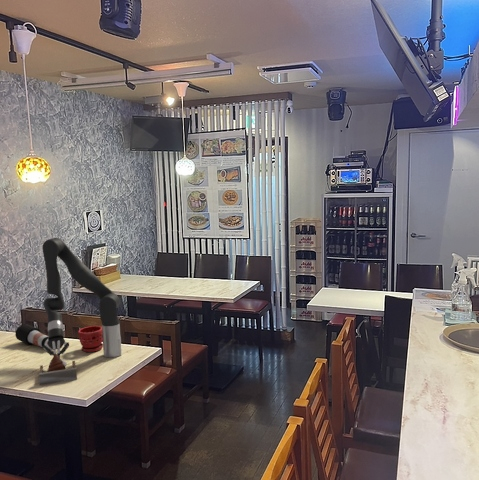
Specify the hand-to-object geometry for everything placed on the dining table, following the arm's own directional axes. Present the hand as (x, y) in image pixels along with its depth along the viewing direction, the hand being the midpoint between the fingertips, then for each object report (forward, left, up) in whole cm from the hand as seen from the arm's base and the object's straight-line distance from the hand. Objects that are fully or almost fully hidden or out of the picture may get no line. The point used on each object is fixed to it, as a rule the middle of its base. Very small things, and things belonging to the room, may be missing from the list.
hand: (57, 361), depth 236 cm
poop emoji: (0, +4, -4) cm, 6 cm away
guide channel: (-1, +7, -4) cm, 8 cm away
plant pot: (-14, -27, -4) cm, 31 cm away
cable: (+16, -41, -5) cm, 44 cm away
